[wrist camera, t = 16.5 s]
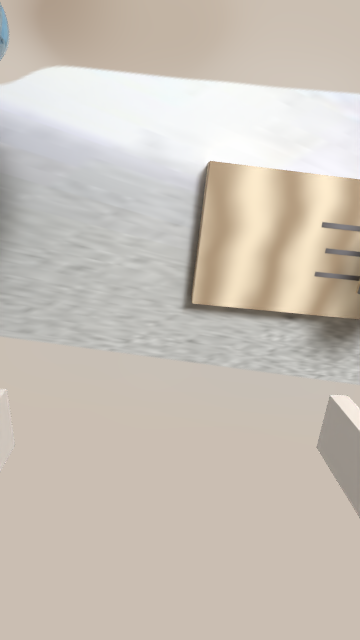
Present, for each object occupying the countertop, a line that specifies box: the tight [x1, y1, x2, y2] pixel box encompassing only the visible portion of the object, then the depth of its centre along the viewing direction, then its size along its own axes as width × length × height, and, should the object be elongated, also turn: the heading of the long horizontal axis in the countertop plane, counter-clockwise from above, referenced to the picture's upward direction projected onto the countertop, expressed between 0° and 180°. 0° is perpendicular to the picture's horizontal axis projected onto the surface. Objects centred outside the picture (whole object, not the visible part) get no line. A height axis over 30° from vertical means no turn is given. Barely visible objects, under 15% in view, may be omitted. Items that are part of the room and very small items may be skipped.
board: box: [191, 161, 360, 319], centre depth 36 cm, size 28×14×2 cm, turn 84°
